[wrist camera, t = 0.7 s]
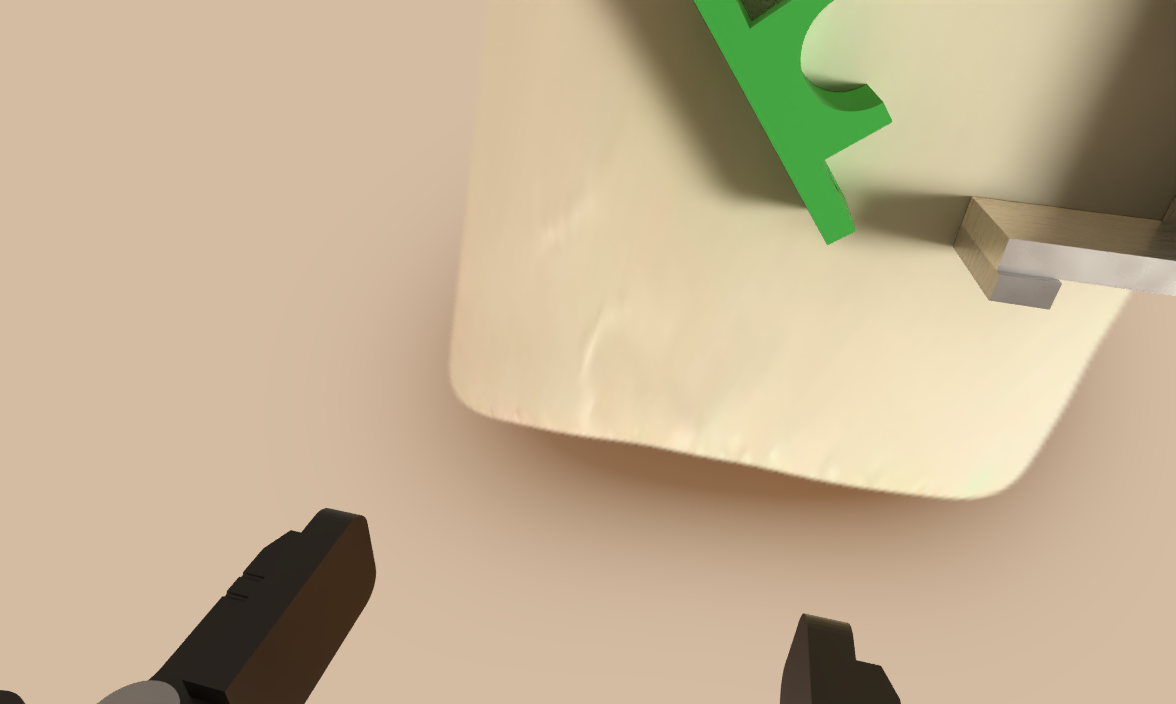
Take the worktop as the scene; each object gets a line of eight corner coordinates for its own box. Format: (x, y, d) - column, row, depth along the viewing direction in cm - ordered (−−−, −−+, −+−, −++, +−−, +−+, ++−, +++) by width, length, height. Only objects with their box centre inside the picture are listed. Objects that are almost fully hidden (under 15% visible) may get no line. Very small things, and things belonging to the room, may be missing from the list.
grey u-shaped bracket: (1090, -120, 22) (1176, -144, 17) (1382, -104, 20) (1559, -125, 16) (953, 246, 28) (988, 300, 24) (1166, 276, 27) (1248, 339, 22)
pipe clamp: (905, 163, 27) (928, 196, 23) (818, 208, 29) (827, 246, 25) (777, -103, 24) (780, -115, 20) (687, -34, 26) (673, -33, 22)
